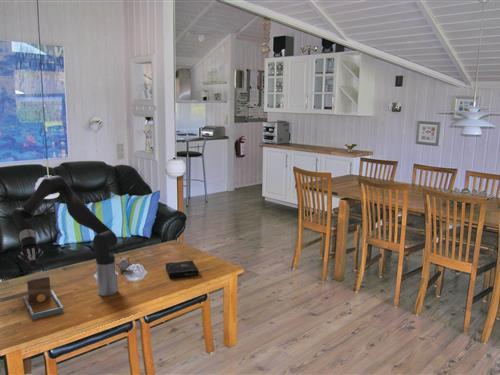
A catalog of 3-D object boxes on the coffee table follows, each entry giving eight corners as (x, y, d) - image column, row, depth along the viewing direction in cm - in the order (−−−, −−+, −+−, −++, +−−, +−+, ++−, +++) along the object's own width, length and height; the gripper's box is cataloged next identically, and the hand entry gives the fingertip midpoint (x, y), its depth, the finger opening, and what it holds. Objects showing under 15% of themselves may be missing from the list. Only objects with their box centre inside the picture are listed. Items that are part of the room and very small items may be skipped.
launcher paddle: (28, 299, 226) (26, 279, 223) (49, 294, 231) (48, 275, 229) (29, 301, 223) (27, 281, 221) (50, 296, 229) (49, 276, 226)
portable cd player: (192, 266, 275) (192, 260, 274) (197, 276, 259) (197, 270, 258) (165, 269, 269) (165, 262, 269) (169, 279, 254) (169, 273, 253)
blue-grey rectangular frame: (28, 310, 215) (28, 305, 214) (58, 303, 222) (58, 298, 222) (32, 319, 206) (32, 314, 205) (63, 312, 213) (63, 307, 213)
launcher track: (23, 299, 227) (23, 296, 226) (52, 292, 234) (52, 290, 234) (28, 311, 214) (28, 308, 213) (59, 304, 221) (59, 301, 221)
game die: (125, 277, 264) (121, 269, 257) (115, 270, 268) (111, 261, 260) (136, 267, 269) (132, 258, 261) (126, 260, 272) (123, 251, 265)
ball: (47, 300, 226) (46, 293, 225) (42, 303, 222) (41, 296, 221) (40, 299, 226) (39, 292, 225) (35, 303, 222) (34, 295, 222)
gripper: (14, 238, 236) (20, 267, 229) (41, 234, 244) (47, 261, 236) (14, 244, 242) (19, 273, 234) (40, 240, 249) (46, 268, 242)
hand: (33, 267), depth 235 cm, fingers closed
